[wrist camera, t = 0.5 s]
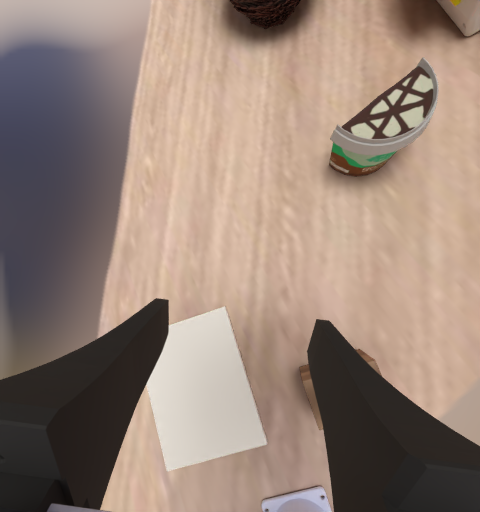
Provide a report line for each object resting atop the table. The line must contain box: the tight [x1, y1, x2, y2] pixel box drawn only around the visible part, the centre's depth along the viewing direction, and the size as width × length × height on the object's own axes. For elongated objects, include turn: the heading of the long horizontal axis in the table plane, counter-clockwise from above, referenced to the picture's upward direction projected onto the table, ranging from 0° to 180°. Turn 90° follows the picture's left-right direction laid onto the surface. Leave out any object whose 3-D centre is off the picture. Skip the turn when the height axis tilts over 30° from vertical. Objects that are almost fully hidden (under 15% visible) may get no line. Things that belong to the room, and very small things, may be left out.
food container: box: [329, 58, 438, 176], centre depth 32 cm, size 12×6×10 cm, turn 127°
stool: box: [300, 349, 382, 430], centre depth 31 cm, size 5×8×6 cm, turn 108°
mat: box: [147, 306, 268, 471], centre depth 36 cm, size 18×14×1 cm
